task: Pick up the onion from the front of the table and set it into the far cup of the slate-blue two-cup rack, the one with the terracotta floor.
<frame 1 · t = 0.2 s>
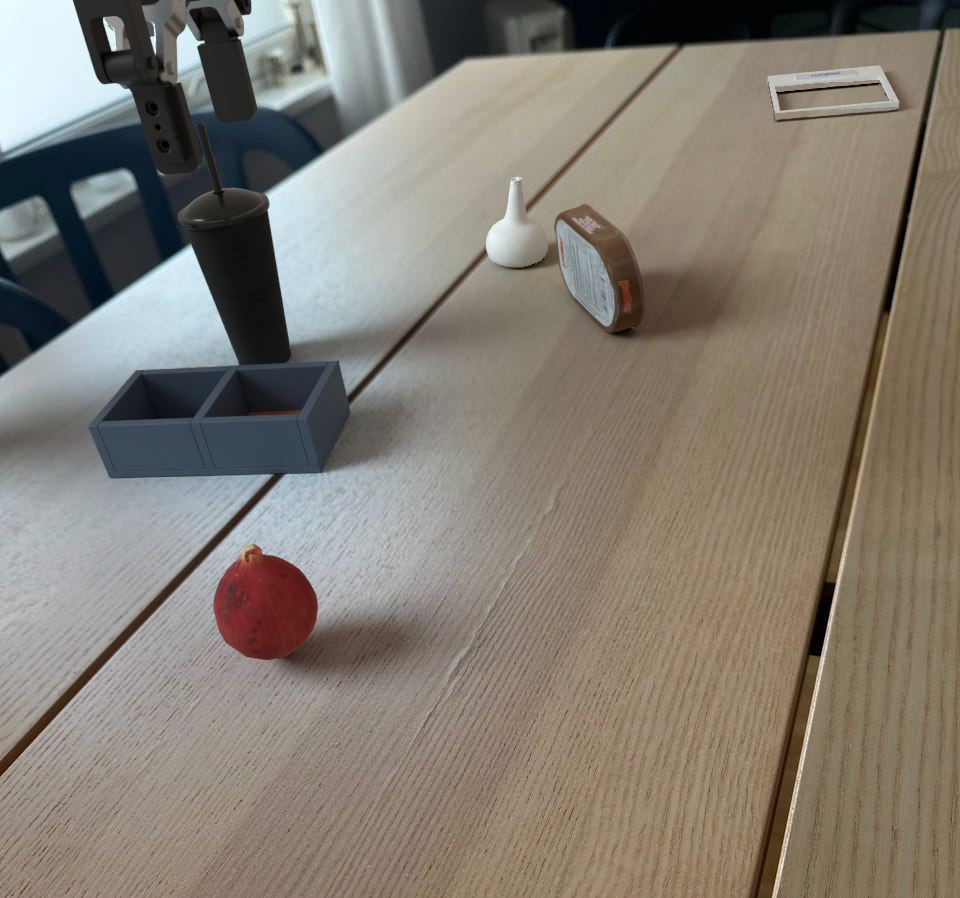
hand: (211, 144, 52), 26 cm above the table, tool pointing down, fingers open, 8 cm apart
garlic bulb: (518, 262, 104), on the table
rack: (232, 444, 82), on the table
tin: (598, 316, 92), on the table
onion: (282, 657, 61), on the table
drinking cup: (266, 361, 93), on the table
photo frame: (828, 97, 133), on the table
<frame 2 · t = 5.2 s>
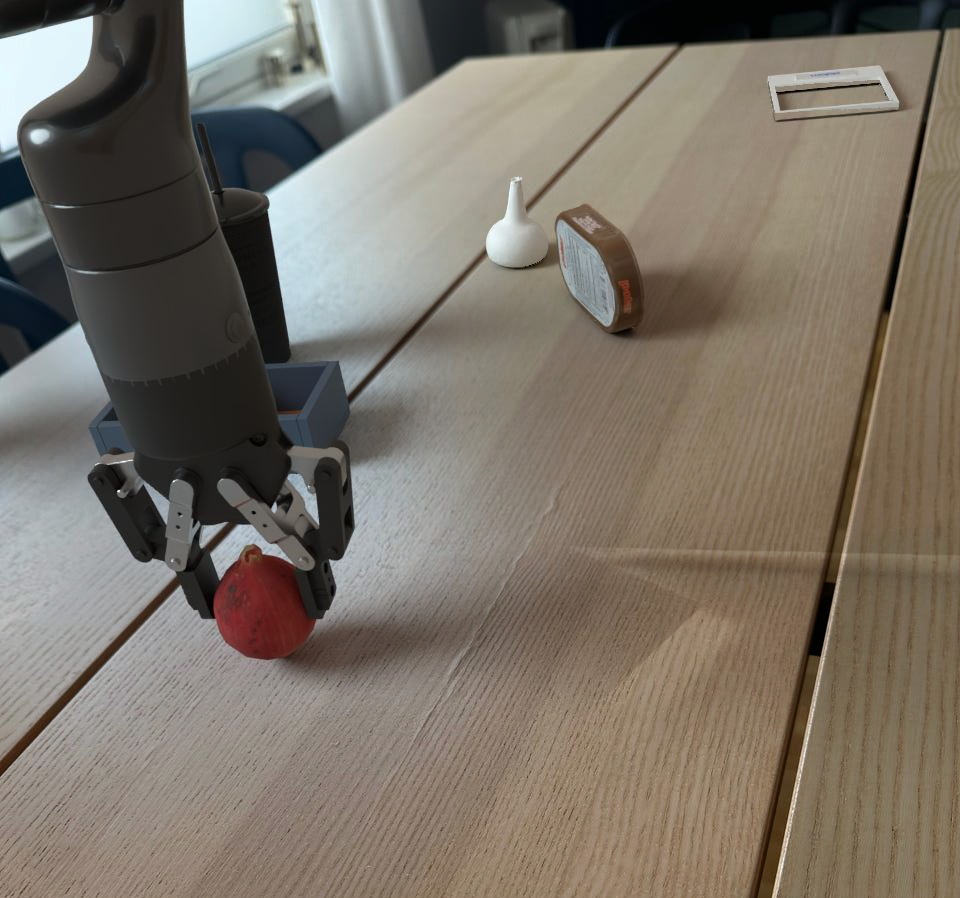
hand: (266, 609, 59), 4 cm above the table, tool pointing down, fingers closed on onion, 6 cm apart
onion: (282, 657, 61), on the table, touching gripper
everything else where it was.
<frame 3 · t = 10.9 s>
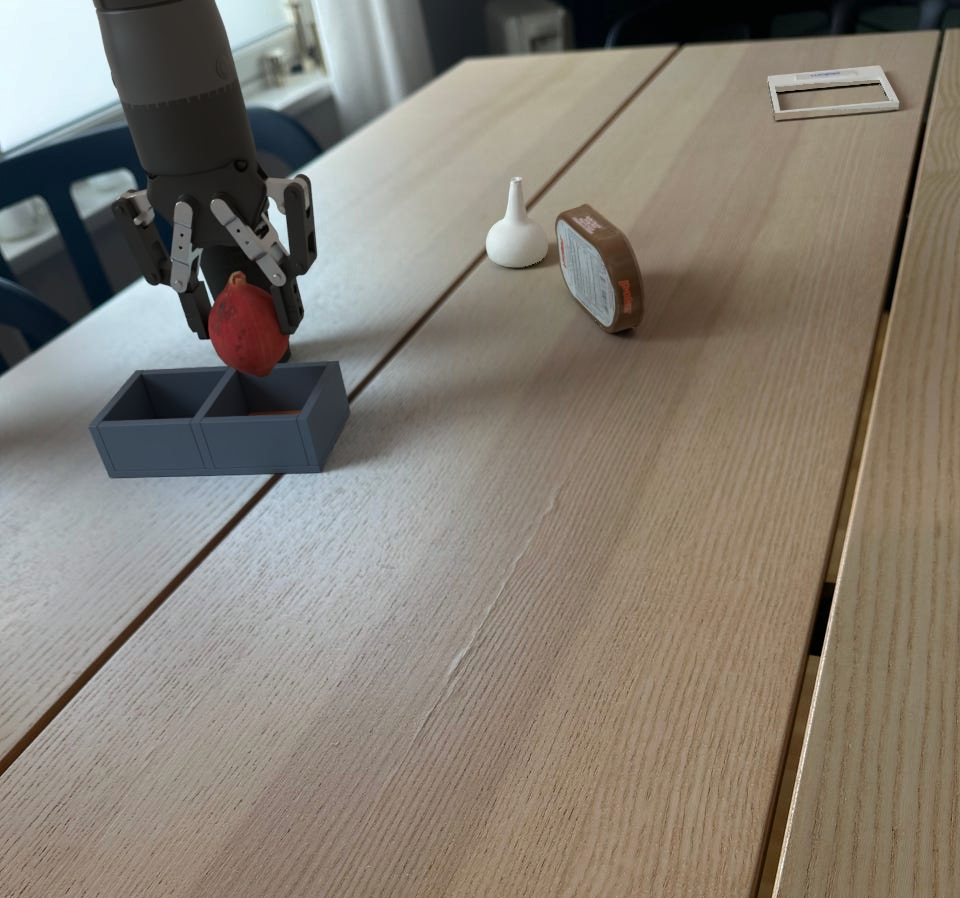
hand: (249, 332, 75), 9 cm above the table, tool pointing down, fingers closed on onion, 6 cm apart
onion: (263, 378, 77), point 6 cm above the table, touching gripper
everything else where it was.
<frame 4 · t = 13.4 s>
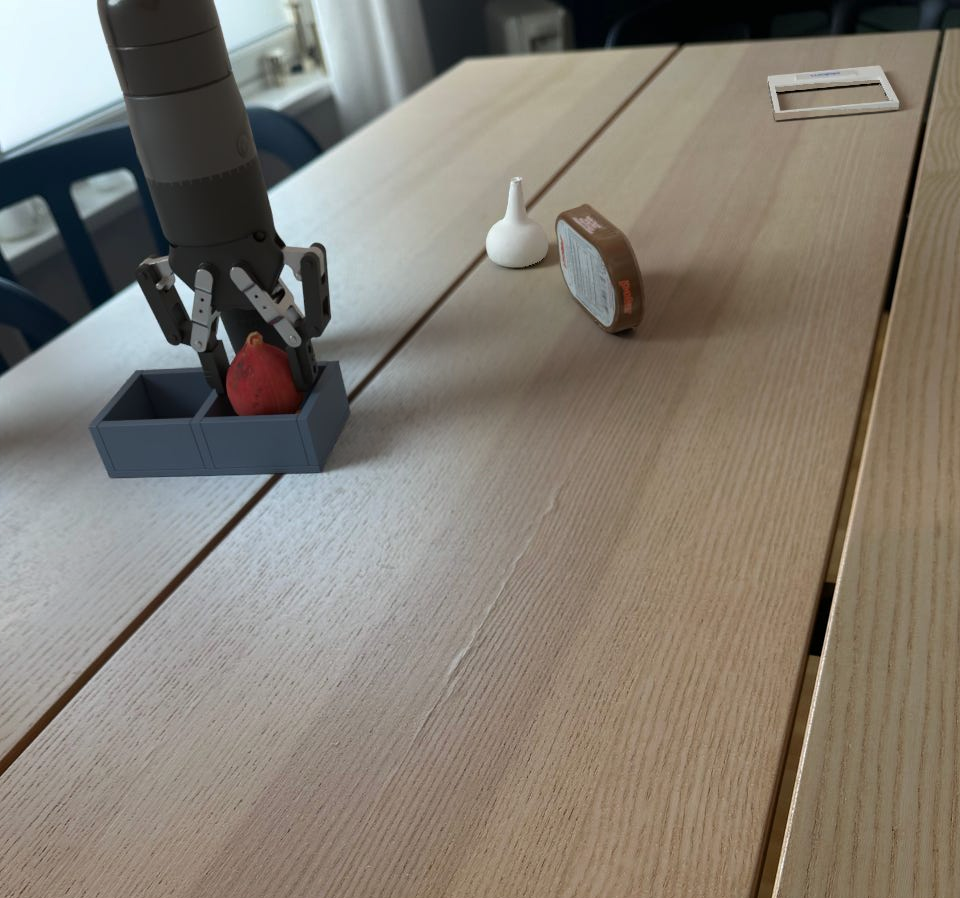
hand: (265, 388, 78), 5 cm above the table, tool pointing down, fingers closed on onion, 6 cm apart
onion: (278, 431, 80), point 1 cm above the table, touching gripper
everything else where it was.
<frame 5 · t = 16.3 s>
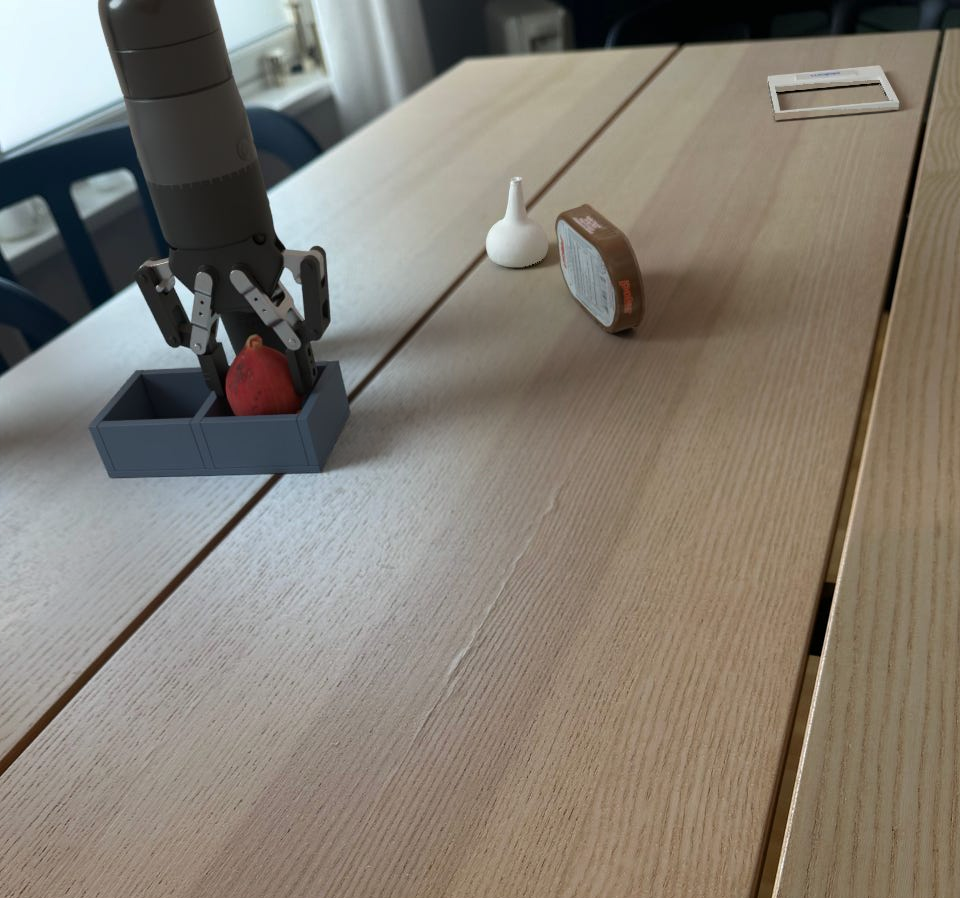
hand: (265, 391, 78), 5 cm above the table, tool pointing down, fingers closed on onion, 6 cm apart
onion: (277, 434, 80), point 1 cm above the table, touching gripper
everything else where it was.
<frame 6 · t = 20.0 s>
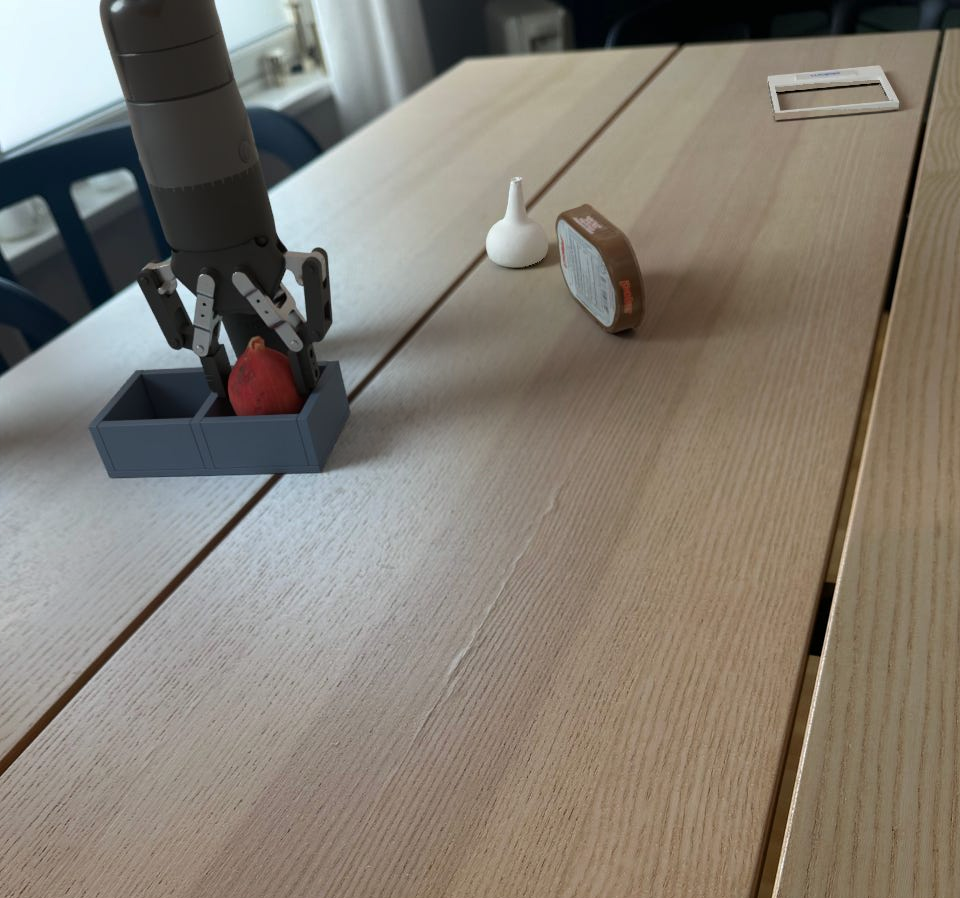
hand: (267, 392, 78), 4 cm above the table, tool pointing down, fingers closed on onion, 6 cm apart
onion: (279, 435, 81), point 1 cm above the table, touching gripper
everything else where it was.
when the fingers open (6 cm above the table, at t = 23.1 s): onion drops 1 cm, resting on rack.
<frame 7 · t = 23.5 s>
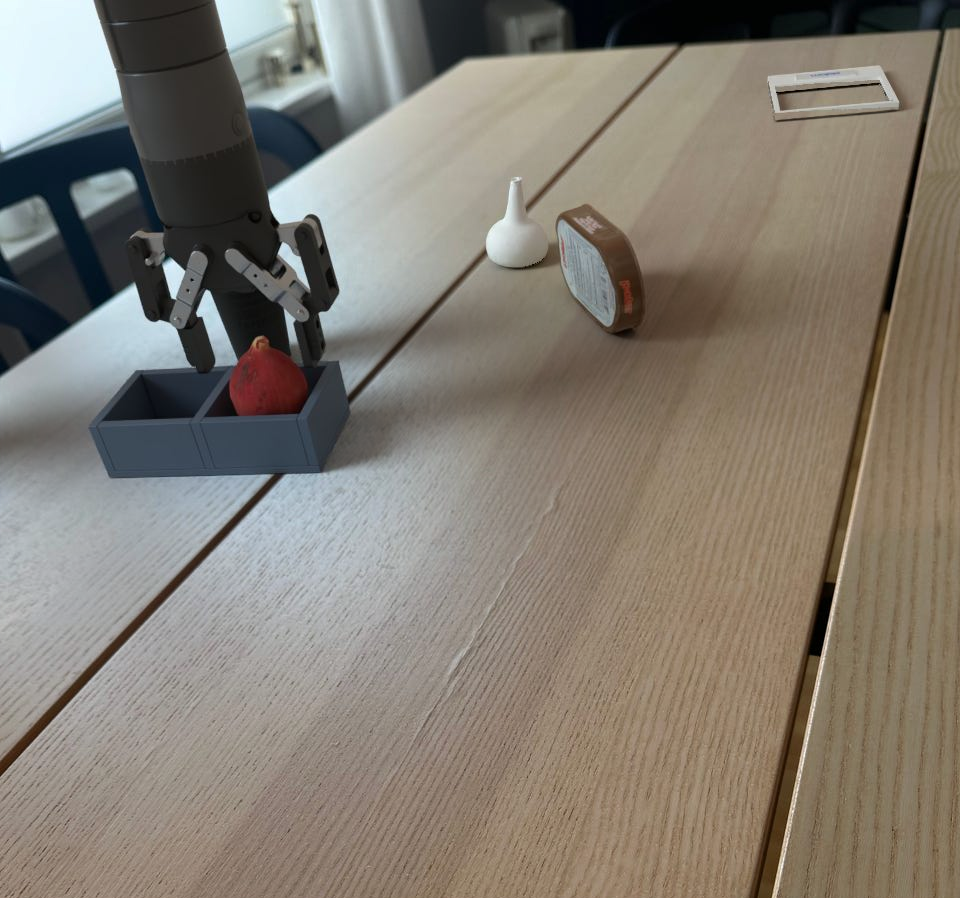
hand: (259, 366, 77), 7 cm above the table, tool pointing down, fingers open, 8 cm apart
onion: (278, 435, 80), point 1 cm above the table, touching rack
everything else where it was.
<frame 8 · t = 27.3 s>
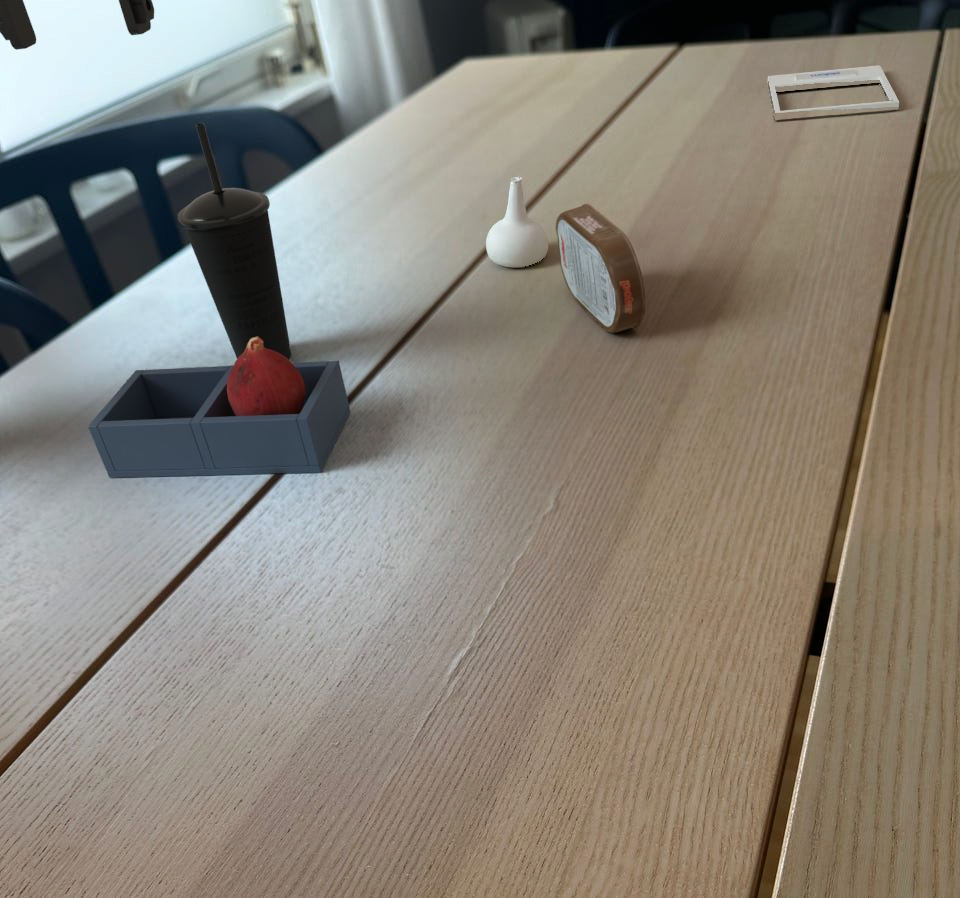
hand: (82, 39, 68), 28 cm above the table, tool pointing down, fingers open, 8 cm apart
nothing on the table moved.
at the end: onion 0.2 cm from the target spot in the rack, point 0.6 cm above the rack's base; the gripper is holding nothing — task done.
